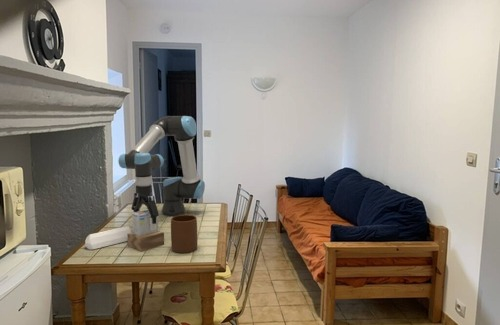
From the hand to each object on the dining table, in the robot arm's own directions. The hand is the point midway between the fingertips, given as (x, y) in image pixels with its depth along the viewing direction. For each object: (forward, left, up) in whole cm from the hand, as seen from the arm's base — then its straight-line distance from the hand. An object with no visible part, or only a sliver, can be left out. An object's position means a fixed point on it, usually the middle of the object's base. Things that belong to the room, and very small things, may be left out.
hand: (145, 227), depth 188 cm
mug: (+16, +12, -9) cm, 22 cm away
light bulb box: (0, 0, -3) cm, 3 cm away
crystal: (-16, -11, -10) cm, 21 cm away
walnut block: (0, 0, -9) cm, 9 cm away
